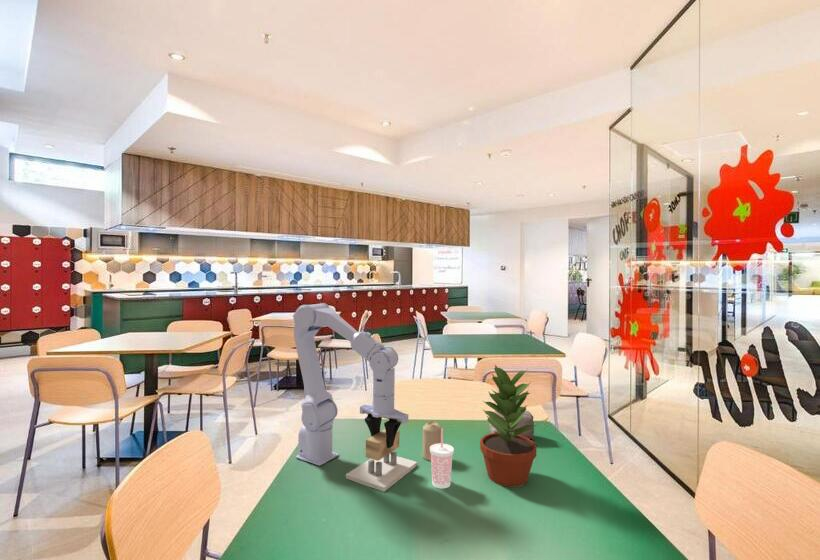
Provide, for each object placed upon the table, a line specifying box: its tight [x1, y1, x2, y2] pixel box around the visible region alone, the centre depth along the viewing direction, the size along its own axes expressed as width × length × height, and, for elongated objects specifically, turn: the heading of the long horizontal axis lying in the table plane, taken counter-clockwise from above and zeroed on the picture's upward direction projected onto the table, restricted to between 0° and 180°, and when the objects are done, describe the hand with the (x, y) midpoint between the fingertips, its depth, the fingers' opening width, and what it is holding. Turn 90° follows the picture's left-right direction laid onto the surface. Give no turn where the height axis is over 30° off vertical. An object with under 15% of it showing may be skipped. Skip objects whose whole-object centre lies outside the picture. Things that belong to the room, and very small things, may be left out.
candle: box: [422, 420, 443, 462], centre depth 116 cm, size 6×6×10 cm
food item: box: [488, 410, 535, 440], centre depth 132 cm, size 14×8×10 cm, turn 92°
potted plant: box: [479, 364, 537, 488], centre depth 106 cm, size 15×15×30 cm
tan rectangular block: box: [365, 428, 401, 461], centre depth 107 cm, size 10×4×4 cm, turn 149°
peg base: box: [345, 451, 418, 492], centre depth 107 cm, size 12×16×4 cm
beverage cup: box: [430, 427, 455, 489], centre depth 102 cm, size 6×6×14 cm
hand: (383, 444), depth 107 cm, fingers closed on tan rectangular block, 4 cm apart
